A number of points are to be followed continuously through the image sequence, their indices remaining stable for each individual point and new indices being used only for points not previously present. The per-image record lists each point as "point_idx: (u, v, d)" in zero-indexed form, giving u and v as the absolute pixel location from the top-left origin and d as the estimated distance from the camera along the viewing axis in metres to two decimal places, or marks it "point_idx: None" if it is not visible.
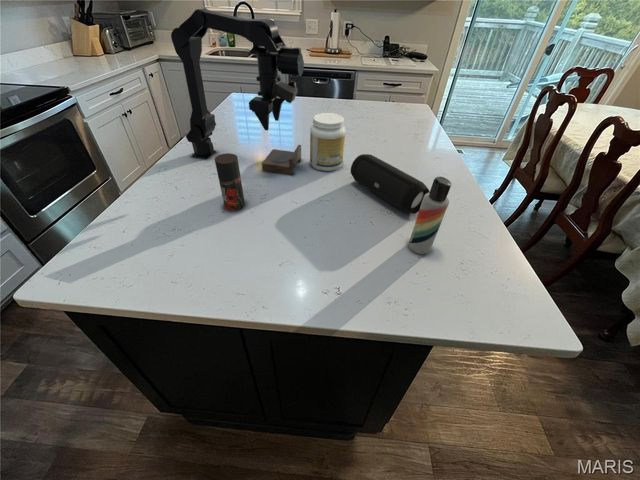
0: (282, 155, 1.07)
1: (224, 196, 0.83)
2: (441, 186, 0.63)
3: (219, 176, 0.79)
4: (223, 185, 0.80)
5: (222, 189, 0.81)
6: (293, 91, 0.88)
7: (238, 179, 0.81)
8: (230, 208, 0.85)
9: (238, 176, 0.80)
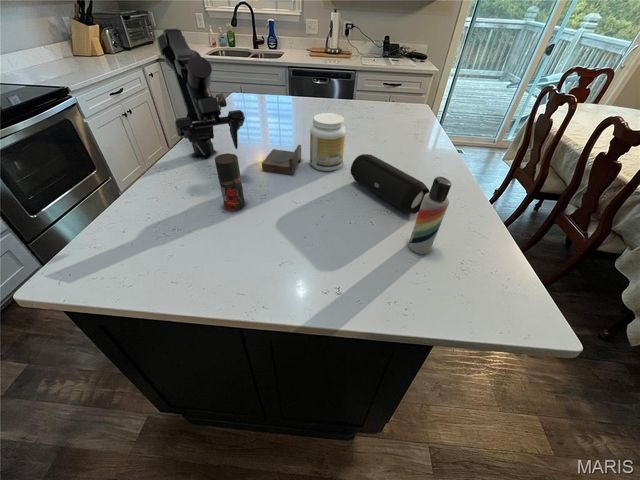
0: (282, 155, 1.07)
1: (224, 196, 0.83)
2: (441, 186, 0.63)
3: (219, 176, 0.79)
4: (223, 185, 0.80)
5: (222, 189, 0.81)
6: (206, 98, 0.76)
7: (238, 179, 0.81)
8: (230, 208, 0.85)
9: (238, 176, 0.80)
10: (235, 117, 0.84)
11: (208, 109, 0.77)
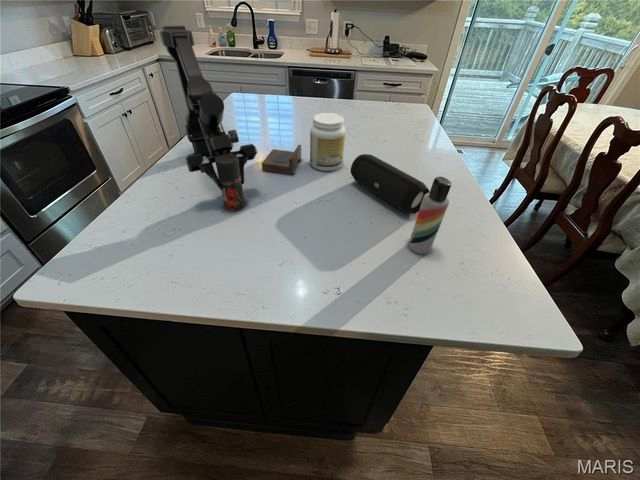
0: (282, 155, 1.07)
1: (224, 196, 0.83)
2: (441, 186, 0.63)
3: (219, 176, 0.79)
4: (223, 185, 0.80)
5: (222, 189, 0.81)
6: (218, 136, 0.74)
7: (238, 179, 0.81)
8: (230, 208, 0.85)
9: (238, 176, 0.80)
10: (247, 152, 0.82)
11: (220, 146, 0.75)
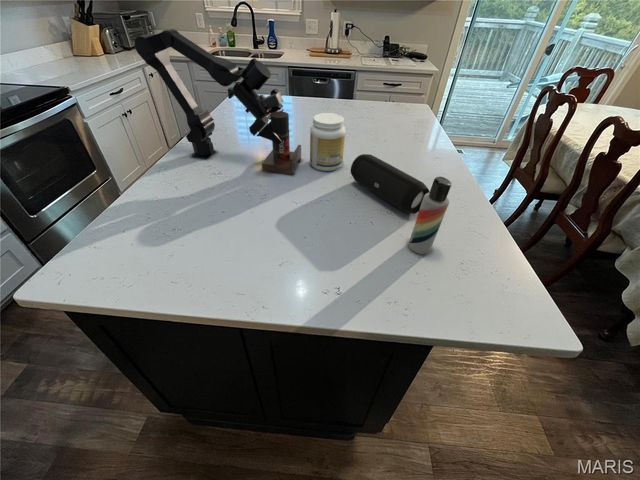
0: None
1: (282, 149, 1.00)
2: (441, 186, 0.63)
3: (279, 131, 0.96)
4: (283, 137, 0.98)
5: None
6: (275, 94, 0.91)
7: None
8: (286, 158, 1.03)
9: None
10: (280, 107, 1.00)
11: (280, 102, 0.92)
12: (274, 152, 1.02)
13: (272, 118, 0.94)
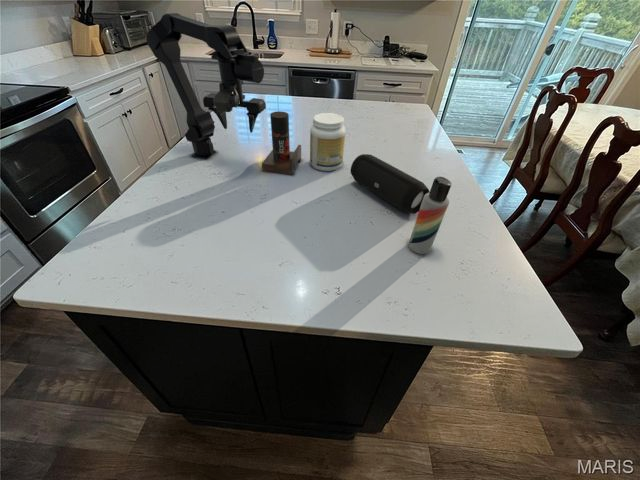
0: None
1: (282, 149, 1.00)
2: (441, 186, 0.63)
3: (279, 131, 0.96)
4: (283, 137, 0.98)
5: (281, 142, 0.99)
6: (217, 100, 0.84)
7: None
8: (286, 158, 1.03)
9: None
10: (249, 111, 0.89)
11: (219, 109, 0.86)
12: (274, 152, 1.02)
13: (272, 118, 0.94)
